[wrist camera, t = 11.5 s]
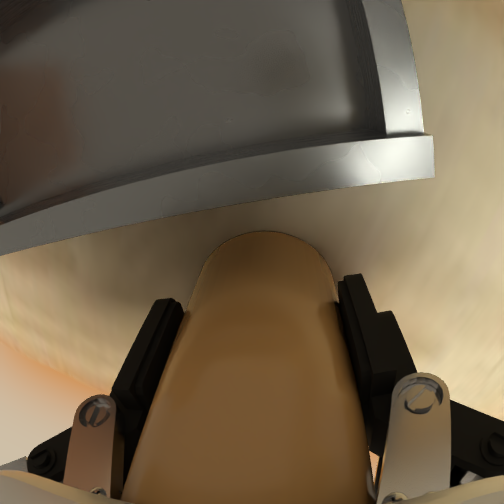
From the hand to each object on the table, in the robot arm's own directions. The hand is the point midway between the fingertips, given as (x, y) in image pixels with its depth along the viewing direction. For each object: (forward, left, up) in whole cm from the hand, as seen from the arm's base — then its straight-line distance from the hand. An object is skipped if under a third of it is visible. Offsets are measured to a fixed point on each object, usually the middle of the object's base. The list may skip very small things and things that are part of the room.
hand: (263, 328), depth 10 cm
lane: (+6, -9, -2) cm, 11 cm away
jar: (0, 0, -2) cm, 2 cm away
